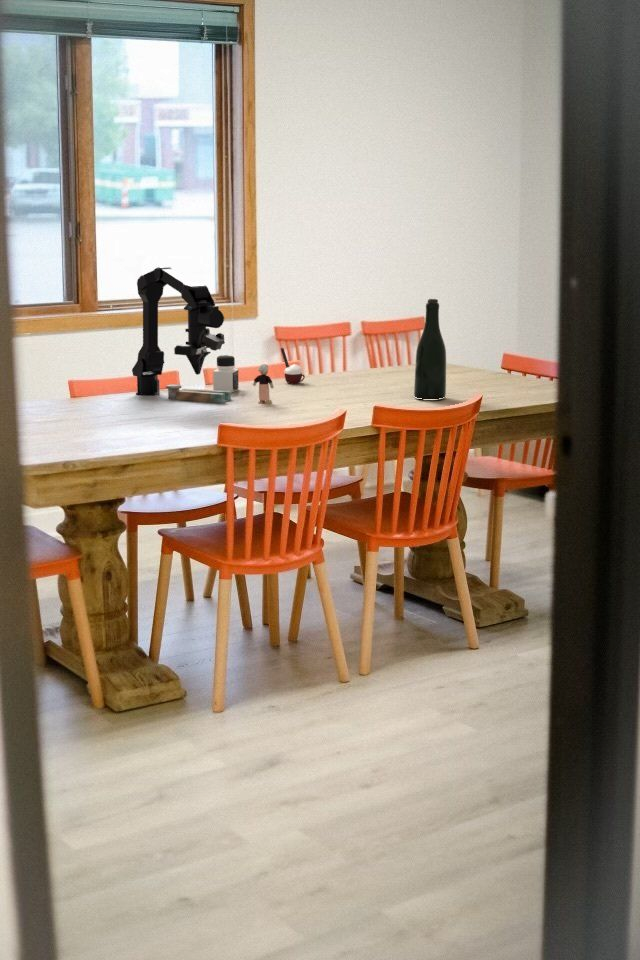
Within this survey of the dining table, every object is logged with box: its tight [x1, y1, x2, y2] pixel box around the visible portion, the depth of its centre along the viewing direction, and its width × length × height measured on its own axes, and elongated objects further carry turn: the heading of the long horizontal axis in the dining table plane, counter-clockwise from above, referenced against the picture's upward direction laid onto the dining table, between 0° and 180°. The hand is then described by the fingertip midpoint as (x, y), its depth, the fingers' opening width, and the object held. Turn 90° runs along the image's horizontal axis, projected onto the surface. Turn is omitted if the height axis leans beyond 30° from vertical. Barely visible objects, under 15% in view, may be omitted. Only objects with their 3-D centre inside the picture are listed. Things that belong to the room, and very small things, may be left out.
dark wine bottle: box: [413, 298, 447, 399], centre depth 403 cm, size 10×10×33 cm
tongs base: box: [165, 384, 232, 402], centre depth 402 cm, size 22×6×4 cm, turn 74°
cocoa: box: [280, 347, 306, 385], centre depth 434 cm, size 10×6×12 cm, turn 38°
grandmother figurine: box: [252, 363, 274, 405], centre depth 395 cm, size 8×4×13 cm, turn 71°
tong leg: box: [176, 389, 226, 404], centre depth 399 cm, size 16×2×3 cm, turn 69°
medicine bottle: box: [212, 354, 239, 394], centre depth 418 cm, size 7×7×12 cm
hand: (197, 374), depth 389 cm, fingers closed
